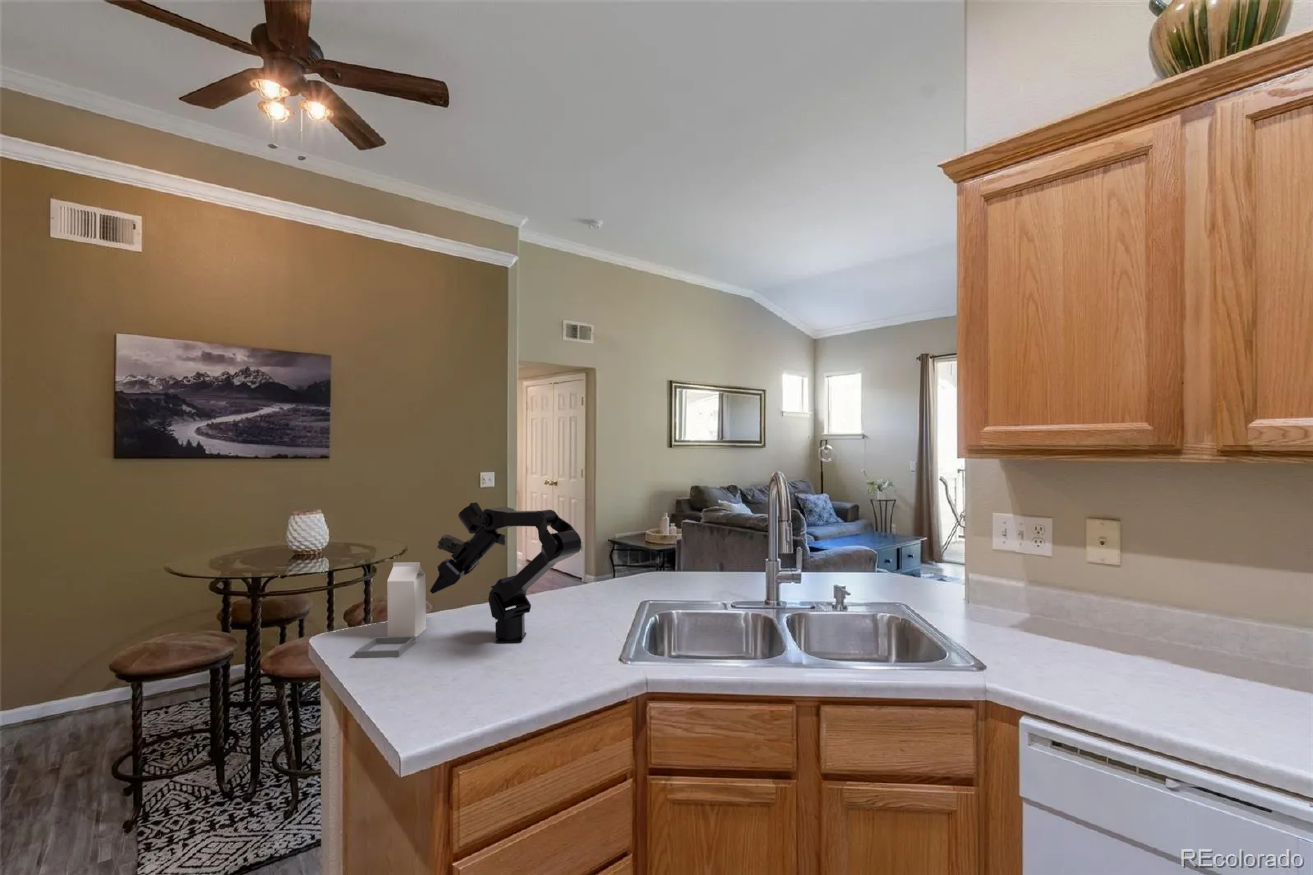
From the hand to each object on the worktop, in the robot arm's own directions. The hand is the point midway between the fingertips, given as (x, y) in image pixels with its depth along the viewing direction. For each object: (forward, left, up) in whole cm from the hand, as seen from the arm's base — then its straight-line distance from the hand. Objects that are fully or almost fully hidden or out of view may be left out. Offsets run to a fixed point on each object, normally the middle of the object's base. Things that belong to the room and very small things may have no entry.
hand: (437, 587), depth 154 cm
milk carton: (+8, 0, -12) cm, 15 cm away
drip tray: (+8, +12, -12) cm, 19 cm away
